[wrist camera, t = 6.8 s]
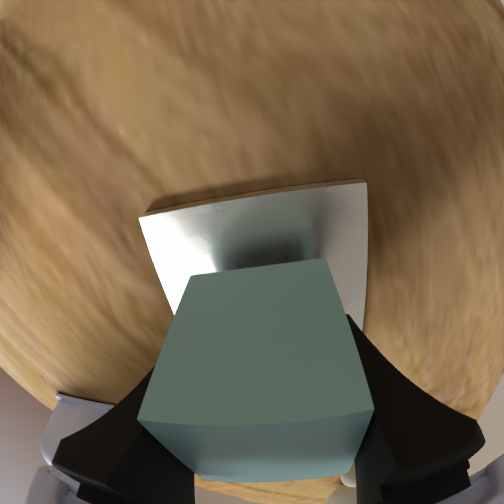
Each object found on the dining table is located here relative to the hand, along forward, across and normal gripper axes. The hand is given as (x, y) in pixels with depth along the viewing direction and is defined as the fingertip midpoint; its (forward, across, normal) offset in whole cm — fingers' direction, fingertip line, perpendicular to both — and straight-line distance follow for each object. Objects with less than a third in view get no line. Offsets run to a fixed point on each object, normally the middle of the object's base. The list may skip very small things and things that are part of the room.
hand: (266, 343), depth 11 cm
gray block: (+4, 0, 0) cm, 4 cm away
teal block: (+2, 0, 0) cm, 2 cm away
